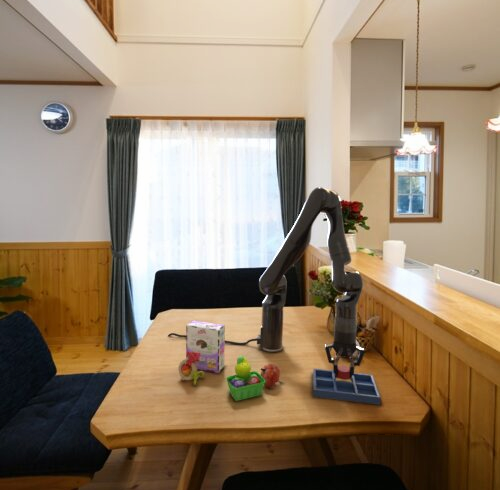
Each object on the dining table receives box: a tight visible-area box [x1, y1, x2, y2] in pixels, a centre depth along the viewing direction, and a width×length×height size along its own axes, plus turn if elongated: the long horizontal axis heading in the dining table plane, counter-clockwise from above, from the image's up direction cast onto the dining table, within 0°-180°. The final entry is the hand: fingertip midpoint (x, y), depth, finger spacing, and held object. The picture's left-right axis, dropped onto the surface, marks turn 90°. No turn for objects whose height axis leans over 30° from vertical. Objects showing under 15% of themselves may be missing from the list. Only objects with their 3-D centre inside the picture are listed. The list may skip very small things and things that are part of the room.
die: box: [352, 339, 361, 358], centre depth 144 cm, size 8×9×10 cm
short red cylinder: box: [337, 365, 350, 380], centre depth 122 cm, size 4×4×3 cm
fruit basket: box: [225, 355, 265, 402], centre depth 114 cm, size 11×9×11 cm
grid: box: [312, 368, 381, 405], centre depth 119 cm, size 21×14×2 cm
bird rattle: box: [178, 351, 205, 386], centre depth 121 cm, size 6×11×9 cm
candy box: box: [185, 320, 226, 374], centre depth 131 cm, size 14×6×16 cm, turn 71°
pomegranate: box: [259, 363, 282, 389], centre depth 120 cm, size 7×7×10 cm
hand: (343, 374), depth 122 cm, fingers closed on short red cylinder, 4 cm apart
